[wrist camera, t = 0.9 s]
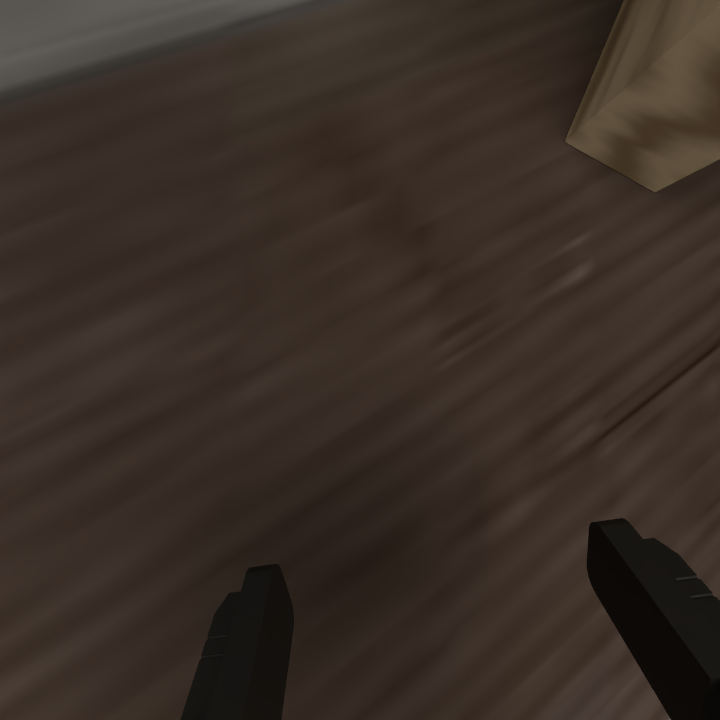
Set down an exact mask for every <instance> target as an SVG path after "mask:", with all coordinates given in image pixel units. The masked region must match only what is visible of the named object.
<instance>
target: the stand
mask: <svg viewBox="0 0 720 720" xmlns="http://www.w3.org/2000/svg"><path fill="white" fill-rule="evenodd" d="M565 143H567V144H569V145H571V146H573V147H574V148H576V149H578V150H580V151H581V152H583V153H585V154H587V155H589V156H590V157H592V158H594V159H596V160H598V161H599V162H601V163H603V164H605V165H606V166H608V167H610V168H612V169H614V170H615V171H617V172H619V173H621V174H623V175H624V176H626V177H628V178H630V179H631V180H633V181H635V182H637V183H639V184H640V185H642V186H644V187H646V188H647V189H649V190H651V191H653V192H657V191H659V190H661V189H663V188H665V187H667V186H669V185H671V184H672V183H674V182H676V181H678V180H680V179H682V178H684V177H686V176H688V175H690V174H692V173H694V172H696V171H698V170H700V169H702V168H704V167H706V166H708V165H709V164H711V163H713V162H715V161H717V160H719V159H720V0H624V1H623V3H622V6H621V8H620V11H619V13H618V15H617V18H616V20H615V22H614V25H613V27H612V30H611V32H610V34H609V37H608V39H607V42H606V44H605V46H604V49H603V51H602V53H601V56H600V58H599V61H598V63H597V65H596V68H595V70H594V72H593V75H592V77H591V80H590V82H589V84H588V87H587V89H586V92H585V94H584V96H583V99H582V101H581V103H580V106H579V108H578V111H577V113H576V115H575V118H574V120H573V122H572V125H571V127H570V130H569V132H568V134H567V137H566V139H565Z"/></svg>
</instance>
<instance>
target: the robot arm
mask: <svg viewBox="0 0 720 720" xmlns="http://www.w3.org/2000/svg"><path fill="white" fill-rule="evenodd" d="M587 571H588V576H589V579H590V582H591V585H592V587H593V589H594V591H595V593H596V595H597V596H598V598H599V600H600V601H601V603H602V605H603V607H604V608H605V610H606V612H607V613H608V615H609V617H610V618H611V620H612V622H613V623H614V625H615V627H616V628H617V630H618V632H619V633H620V635H621V637H622V638H623V640H624V642H625V643H626V645H627V647H628V648H629V650H630V652H631V653H632V655H633V657H634V658H635V660H636V662H637V663H638V665H639V667H640V668H641V670H642V672H643V673H644V675H645V677H646V678H647V680H648V682H649V683H650V685H651V687H652V688H653V690H654V692H655V694H656V695H657V697H658V699H659V700H660V702H661V704H662V705H663V707H664V709H665V710H666V712H667V714H668V715H669V717H670V719H671V720H720V601H719V600H718V599H717V597H714V596H713V595H712V592H711V591H710V590H709V588H708V587H707V586H706V585H705V584H704V583H703V582H702V580H701V579H698V578H697V575H696V574H695V573H694V571H693V570H692V569H691V568H690V567H689V566H688V565H687V564H686V562H685V561H684V560H683V559H682V558H681V557H680V556H679V555H678V554H677V553H676V552H674V551H673V550H671V549H670V548H668V547H667V546H665V545H664V544H662V543H661V542H659V541H658V540H656V539H655V538H650V539H642V537H641V536H640V535H639V534H638V532H637V531H636V530H635V529H634V528H633V526H632V525H631V524H630V523H629V522H628V521H627V520H625V519H623V518H620V519H613V520H605V521H598V522H592V523H591V524H590V526H589V537H588V553H587ZM293 625H294V616H293V606H292V602H291V599H290V596H289V593H288V590H287V586H286V583H285V580H284V577H283V574H282V571H281V568H280V566H279V565H278V564H272V565H265V566H257V567H250V568H249V569H248V570H247V572H246V575H245V579H244V582H243V586H242V590H241V592H234V593H229V594H228V595H227V597H226V598H225V600H224V601H223V602H222V604H221V605H220V607H219V608H218V610H217V611H216V613H215V615H214V618H213V621H212V624H211V627H210V630H209V633H208V640H207V641H206V642H205V646H204V649H203V652H202V658H201V660H200V661H199V664H198V667H197V670H196V673H195V677H194V680H193V683H192V686H191V689H190V692H189V695H188V698H187V701H186V704H185V708H184V711H183V714H182V717H181V720H281V717H282V709H283V702H284V695H285V687H286V680H287V672H288V665H289V657H290V650H291V642H292V635H293Z"/></svg>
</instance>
